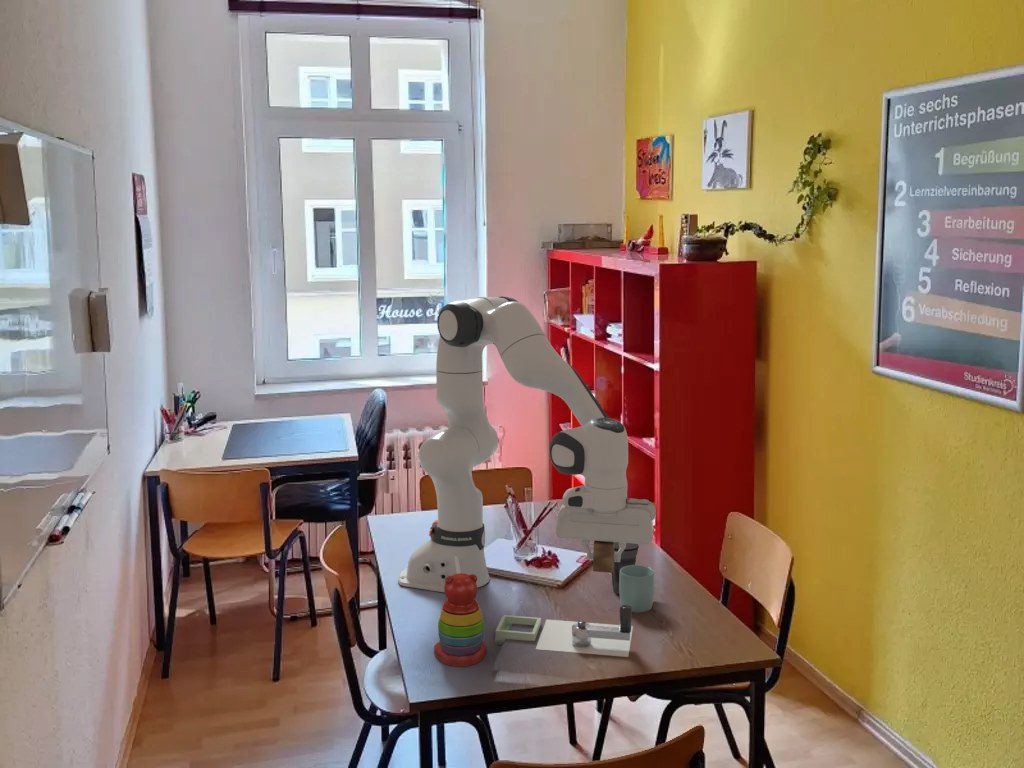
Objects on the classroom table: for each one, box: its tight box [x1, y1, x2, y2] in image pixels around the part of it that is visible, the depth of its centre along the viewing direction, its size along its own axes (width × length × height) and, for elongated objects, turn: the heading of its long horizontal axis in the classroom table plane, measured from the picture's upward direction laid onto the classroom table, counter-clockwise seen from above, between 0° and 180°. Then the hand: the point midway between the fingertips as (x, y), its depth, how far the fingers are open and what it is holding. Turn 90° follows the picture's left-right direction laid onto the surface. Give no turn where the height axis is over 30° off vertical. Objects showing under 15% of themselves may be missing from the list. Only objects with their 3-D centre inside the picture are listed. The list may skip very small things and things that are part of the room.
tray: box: [494, 614, 542, 646], centre depth 208 cm, size 8×8×3 cm
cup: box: [618, 564, 656, 613], centre depth 221 cm, size 8×8×10 cm
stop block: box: [592, 541, 615, 574], centre depth 204 cm, size 4×4×6 cm
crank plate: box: [535, 619, 634, 658], centre depth 205 cm, size 19×15×2 cm
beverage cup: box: [611, 542, 640, 595], centre depth 232 cm, size 7×7×20 cm
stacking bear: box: [433, 573, 487, 668], centre depth 198 cm, size 11×10×18 cm
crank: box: [572, 605, 633, 647], centre depth 201 cm, size 12×4×8 cm, turn 79°
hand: (603, 560), depth 204 cm, fingers closed on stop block, 4 cm apart
